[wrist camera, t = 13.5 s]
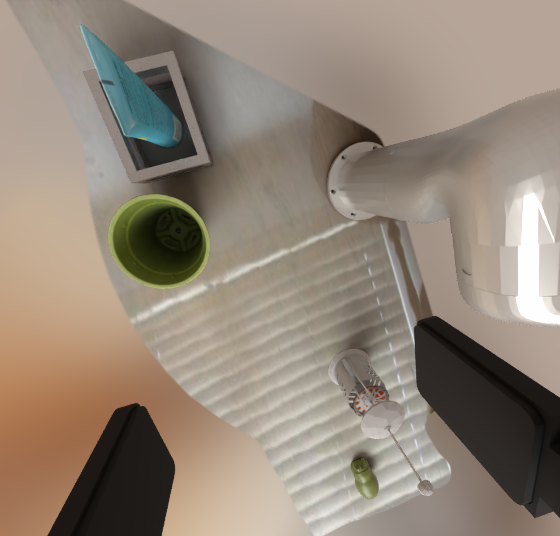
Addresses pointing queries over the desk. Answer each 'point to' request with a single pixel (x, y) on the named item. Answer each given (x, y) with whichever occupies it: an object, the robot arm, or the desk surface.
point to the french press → (370, 400)
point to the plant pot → (158, 241)
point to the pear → (365, 478)
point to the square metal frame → (156, 76)
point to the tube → (132, 98)
